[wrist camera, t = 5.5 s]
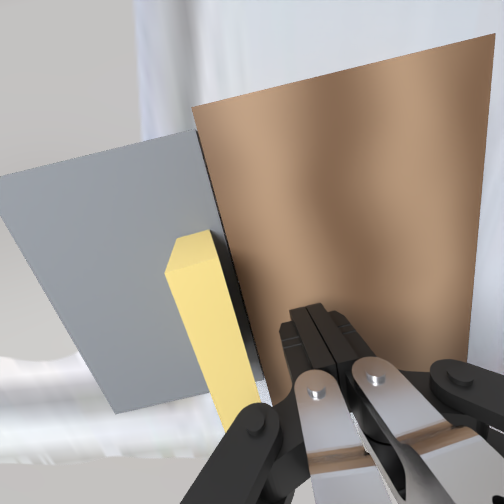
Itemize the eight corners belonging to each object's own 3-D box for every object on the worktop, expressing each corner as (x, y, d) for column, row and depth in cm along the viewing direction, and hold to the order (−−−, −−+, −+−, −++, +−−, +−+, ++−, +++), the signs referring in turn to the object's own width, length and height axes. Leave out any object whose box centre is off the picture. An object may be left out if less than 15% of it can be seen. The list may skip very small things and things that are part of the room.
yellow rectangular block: (218, 257, 9) (164, 273, 8) (267, 424, 11) (228, 440, 11) (209, 229, 14) (176, 238, 14) (243, 346, 17) (217, 355, 17)
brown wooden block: (418, 75, 13) (495, 33, 9) (417, 340, 18) (464, 383, 15) (204, 127, 13) (191, 107, 9) (269, 375, 18) (278, 426, 15)
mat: (195, 129, 13) (194, 128, 13) (263, 376, 18) (263, 379, 18) (-15, 180, 13) (-20, 181, 13) (117, 410, 19) (115, 414, 18)
